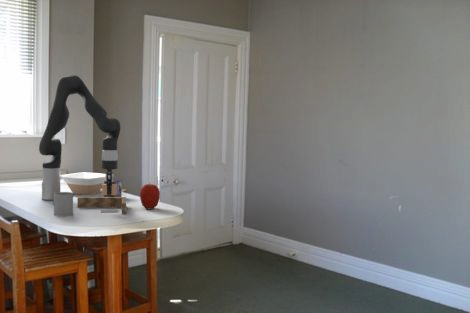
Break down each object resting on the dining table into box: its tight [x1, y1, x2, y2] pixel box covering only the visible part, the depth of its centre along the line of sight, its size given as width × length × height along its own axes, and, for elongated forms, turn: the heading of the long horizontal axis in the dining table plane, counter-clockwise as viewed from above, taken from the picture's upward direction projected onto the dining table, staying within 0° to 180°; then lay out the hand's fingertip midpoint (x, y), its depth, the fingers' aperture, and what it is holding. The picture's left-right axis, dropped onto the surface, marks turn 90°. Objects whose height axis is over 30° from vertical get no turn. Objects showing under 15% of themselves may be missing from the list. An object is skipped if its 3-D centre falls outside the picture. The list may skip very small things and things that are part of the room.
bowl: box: [60, 171, 106, 196], centre depth 305 cm, size 24×25×11 cm
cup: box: [53, 191, 74, 217], centre depth 241 cm, size 8×8×10 cm
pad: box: [100, 209, 119, 213], centre depth 252 cm, size 8×5×1 cm, turn 102°
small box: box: [103, 178, 123, 197], centre depth 289 cm, size 11×6×10 cm, turn 168°
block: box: [101, 184, 117, 196], centre depth 251 cm, size 4×7×5 cm, turn 102°
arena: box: [76, 196, 127, 215], centre depth 254 cm, size 24×20×5 cm
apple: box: [139, 183, 161, 210], centre depth 261 cm, size 10×10×14 cm
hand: (109, 193), depth 251 cm, fingers closed on block, 4 cm apart
